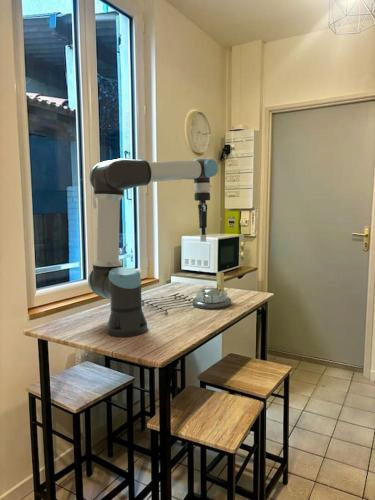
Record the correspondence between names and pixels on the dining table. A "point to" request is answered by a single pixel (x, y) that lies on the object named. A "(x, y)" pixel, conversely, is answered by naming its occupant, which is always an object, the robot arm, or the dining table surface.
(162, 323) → the dining table surface
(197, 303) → the housing
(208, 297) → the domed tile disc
